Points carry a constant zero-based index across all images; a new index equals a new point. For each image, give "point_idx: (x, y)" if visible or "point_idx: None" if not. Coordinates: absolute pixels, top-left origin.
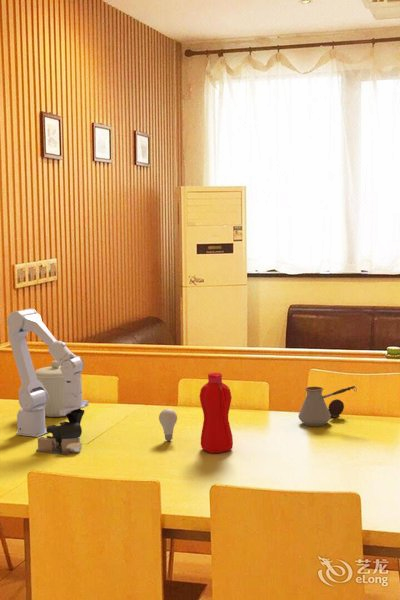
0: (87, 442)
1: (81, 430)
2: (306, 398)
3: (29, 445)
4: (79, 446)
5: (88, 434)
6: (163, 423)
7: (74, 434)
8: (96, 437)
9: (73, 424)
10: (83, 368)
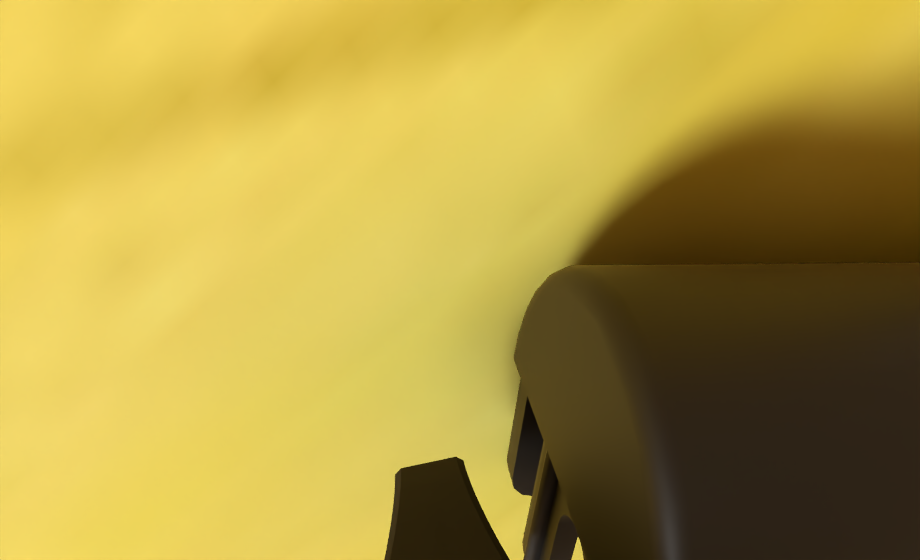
0: (549, 24)
1: (633, 305)
2: None
3: None
4: None
5: (106, 402)
6: None
7: (838, 279)
8: (126, 129)
9: (902, 544)
10: None
